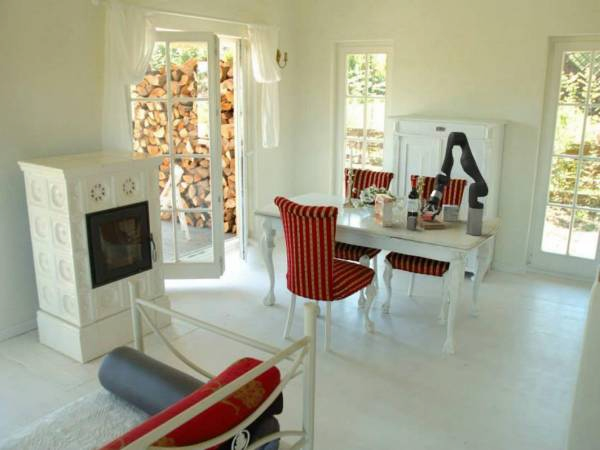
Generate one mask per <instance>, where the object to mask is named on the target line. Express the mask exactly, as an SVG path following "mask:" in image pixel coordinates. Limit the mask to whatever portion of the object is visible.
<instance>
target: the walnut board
mask: <svg viewBox="0 0 600 450" xmlns="http://www.w3.org/2000/svg"><path fill="white" fill-rule="evenodd" d="M416 217H417V227H418V226H419V227H420V228H422V230H442V229H443V230H444V229H445V223H443V222H441V221H439V220H438V219H436V218H435V219H433V220H423V219H422V217H421V216H416Z"/></svg>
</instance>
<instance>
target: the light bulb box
mask: <svg viewBox="0 0 600 450" xmlns="http://www.w3.org/2000/svg"><path fill="white" fill-rule="evenodd" d="M441 208H442V210H441V221H442V222H454V223H455V222H456V223H457V222H459V209H460V207H459V205H457V204H442V206H441Z"/></svg>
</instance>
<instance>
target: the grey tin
mask: <svg viewBox="0 0 600 450" xmlns="http://www.w3.org/2000/svg"><path fill="white" fill-rule="evenodd" d="M417 217H418V216H414V215H413V216H412V215H409V216H408V217H407V218H406V219H407V220H406V229H407V230H409V231H410V230H411V231H416V230H417V227H418V225H417Z"/></svg>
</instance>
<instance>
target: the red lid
mask: <svg viewBox="0 0 600 450" xmlns="http://www.w3.org/2000/svg"><path fill="white" fill-rule="evenodd" d="M433 214H434V213H428V212H426V213H425V214H423V215H422V219H423V220H432V216H433Z"/></svg>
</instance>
